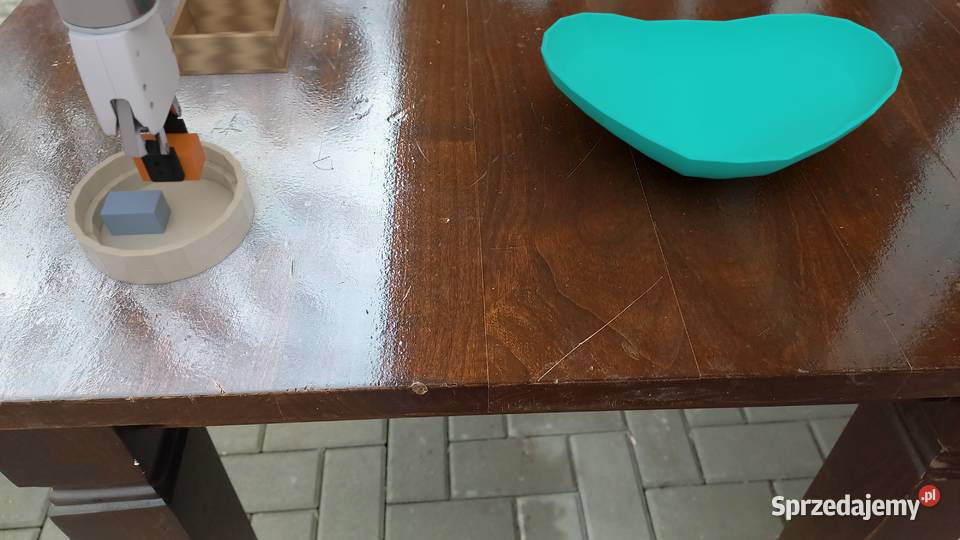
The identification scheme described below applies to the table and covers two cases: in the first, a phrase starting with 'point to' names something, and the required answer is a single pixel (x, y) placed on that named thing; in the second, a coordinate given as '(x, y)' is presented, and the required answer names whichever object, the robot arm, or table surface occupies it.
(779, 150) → the table top decor
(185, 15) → the holder
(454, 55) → the table surface
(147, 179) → the orange rectangular block
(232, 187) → the bowl
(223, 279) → the table surface
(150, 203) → the blue rectangular block
